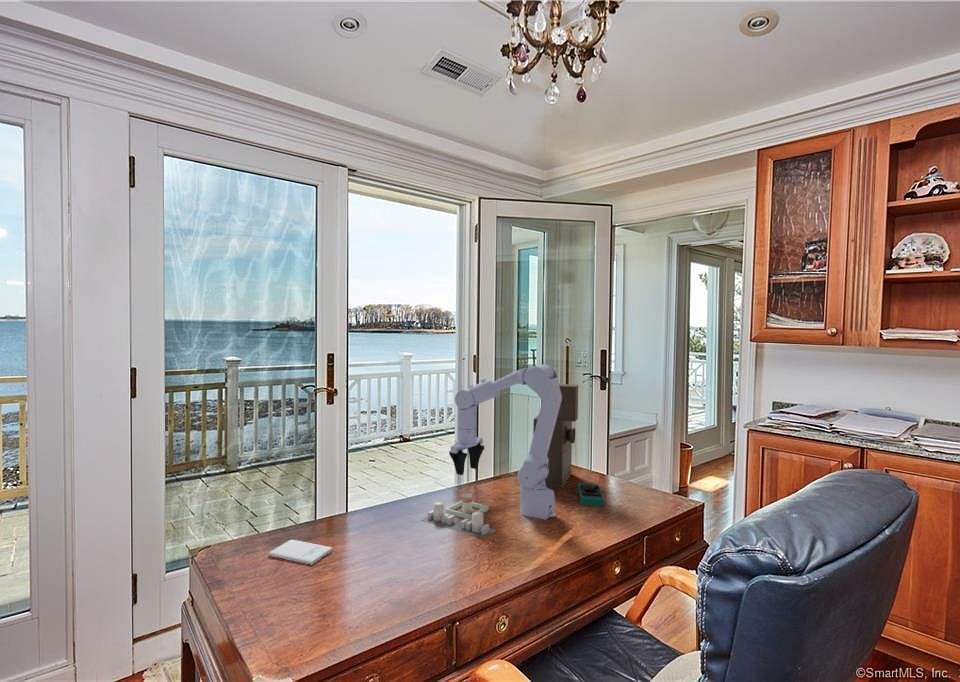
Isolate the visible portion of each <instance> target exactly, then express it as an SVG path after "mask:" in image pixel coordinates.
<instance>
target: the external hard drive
mask: <svg viewBox="0 0 960 682" xmlns="http://www.w3.org/2000/svg"><path fill="white" fill-rule="evenodd" d="M332 552H334V547H332V546H326V545H322V544H316V543H311V542H308V541H307V542H305V541H302V540H295V539H290V540H288V541H285V542H284V543H282V544H281V545H279V546H277V547H276V548H274V549H272V550H271V551H269V552H268V556H269V555H271V556H275V557H280V558H284V559H288V560H294V561H298V562H303V563H307V564H311V565H312V564H313V565H314V563H315V562H316V563H318V562H319V561H321V559H322V558H325V557H326V556H328V555H330V554H331V553H332ZM327 554H328V555H327ZM324 556H325V557H324ZM318 560H319V561H318ZM317 561H318V562H317ZM316 563H315V564H316ZM307 564H306V565H307ZM311 565H310V566H311ZM313 565H312V566H313Z"/></svg>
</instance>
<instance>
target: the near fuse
mask: <svg viewBox="0 0 960 682" xmlns="http://www.w3.org/2000/svg"><path fill="white" fill-rule="evenodd" d="M471 514H472V532H474V533H481V527H482V526H484V513H482V512H476V511H472V513H471Z"/></svg>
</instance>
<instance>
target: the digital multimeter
mask: <svg viewBox="0 0 960 682" xmlns="http://www.w3.org/2000/svg"><path fill="white" fill-rule="evenodd" d="M578 491H579V492H578ZM577 492H578V495H579V504H580V505H582V506H589V505H593V506H594V507H604V506H605V497H604V496H603V493H602V490H601V485H599V484H595V483H579V484H577ZM593 506H592V507H593Z"/></svg>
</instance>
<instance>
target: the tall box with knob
mask: <svg viewBox="0 0 960 682" xmlns="http://www.w3.org/2000/svg"><path fill="white" fill-rule="evenodd" d="M559 387H560V391H561V395H562V401H561V404H560V408H559V412H558V416H557V420H556V423H555V427H554V431H553V435H552V439H551V443H550V446H549V450H548V454H547V457H548V459H549V461H548V469H549V474H548V476H547V478H546V479H545V483H546V487H547V488H549V489H552V488H553V489H554V490H560V489H562V488H563V489H564V487H565V486H564V485H566V484H567V482H568V481H569V479H570V477H571V476H572V474H571V473H572V472H573V470H572V450H573V449H572V445H573V444H575V441H576V428H575V427H573V422H576V421H577V420H578V418H579V384H570V383H569V384H567V383H565V384H564V383H559ZM538 416H539V414H538V415H537V416H535V417H534V418H533V432H532V433H533V435H532V437H533V436H534V432H535V428H536V424H537V420H538ZM570 475H571V476H570ZM568 478H569V479H568ZM567 480H568V481H567ZM565 483H566V484H565ZM553 489H552V490H553ZM563 489H562V490H563Z"/></svg>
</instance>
